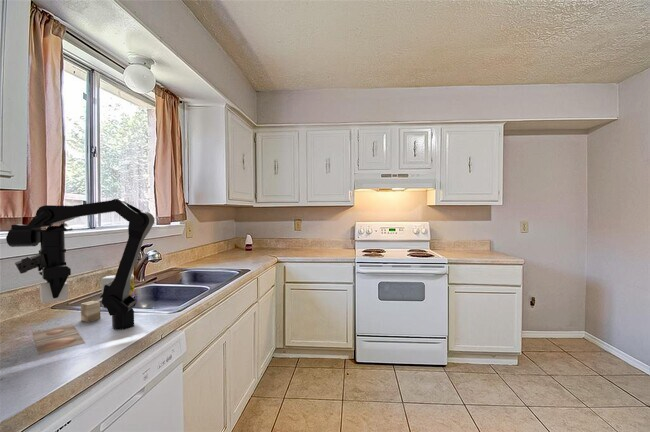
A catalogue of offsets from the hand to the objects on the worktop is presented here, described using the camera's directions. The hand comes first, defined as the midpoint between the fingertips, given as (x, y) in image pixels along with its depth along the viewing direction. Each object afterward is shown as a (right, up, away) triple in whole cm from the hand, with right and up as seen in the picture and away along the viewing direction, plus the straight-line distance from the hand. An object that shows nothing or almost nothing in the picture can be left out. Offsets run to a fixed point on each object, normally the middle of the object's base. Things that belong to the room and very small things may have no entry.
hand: (54, 295), depth 100 cm
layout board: (+4, -13, -4) cm, 14 cm away
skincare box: (-3, -12, +30) cm, 33 cm away
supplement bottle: (-4, -12, +42) cm, 44 cm away
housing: (0, -1, 0) cm, 1 cm away
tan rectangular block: (+3, -12, +12) cm, 17 cm away
